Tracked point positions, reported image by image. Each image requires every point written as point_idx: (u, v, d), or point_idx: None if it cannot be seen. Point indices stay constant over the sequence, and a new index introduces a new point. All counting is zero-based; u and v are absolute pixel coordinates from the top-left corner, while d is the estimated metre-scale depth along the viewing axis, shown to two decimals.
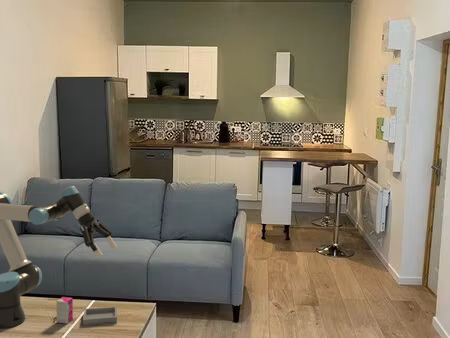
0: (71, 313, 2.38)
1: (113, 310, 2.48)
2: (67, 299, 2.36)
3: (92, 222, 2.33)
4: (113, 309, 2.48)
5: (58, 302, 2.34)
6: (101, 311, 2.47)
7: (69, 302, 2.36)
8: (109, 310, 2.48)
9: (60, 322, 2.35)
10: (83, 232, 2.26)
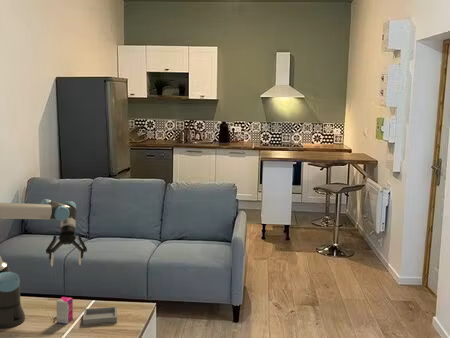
0: (71, 313, 2.38)
1: (113, 310, 2.48)
2: (67, 299, 2.36)
3: None
4: (113, 309, 2.48)
5: (58, 302, 2.34)
6: (101, 311, 2.47)
7: (69, 302, 2.36)
8: (109, 310, 2.48)
9: (60, 322, 2.35)
10: (81, 239, 2.54)
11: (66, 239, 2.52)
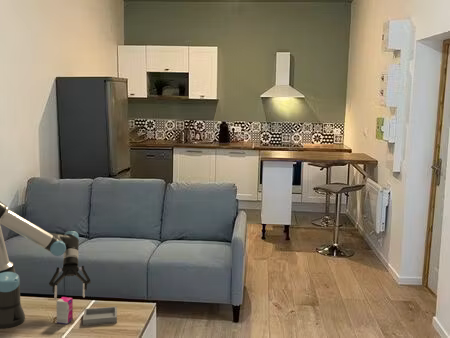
0: (71, 313, 2.38)
1: (113, 310, 2.48)
2: (67, 299, 2.36)
3: None
4: (113, 309, 2.48)
5: (58, 302, 2.34)
6: (101, 311, 2.47)
7: (69, 302, 2.36)
8: (109, 310, 2.48)
9: (60, 322, 2.35)
10: (85, 271, 2.52)
11: (69, 271, 2.50)
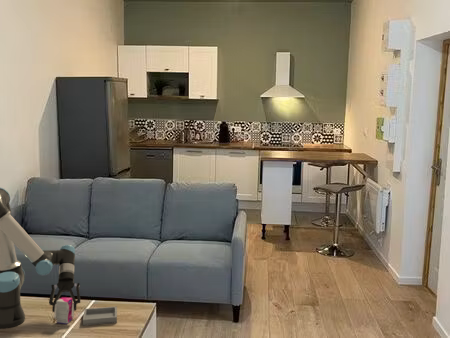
0: (71, 312, 2.38)
1: (113, 310, 2.48)
2: (67, 299, 2.36)
3: None
4: (113, 309, 2.48)
5: (58, 302, 2.34)
6: (101, 311, 2.47)
7: (69, 302, 2.36)
8: (109, 310, 2.48)
9: (60, 322, 2.35)
10: (78, 289, 2.44)
11: (64, 286, 2.42)
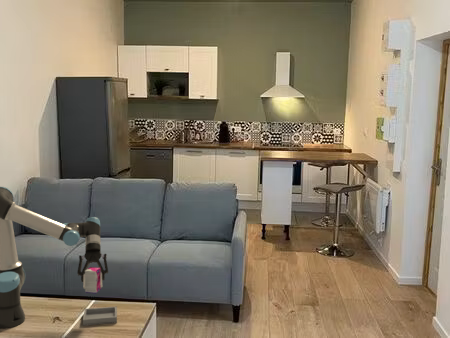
0: (99, 282, 2.39)
1: (113, 310, 2.48)
2: (95, 269, 2.38)
3: None
4: (113, 309, 2.48)
5: (86, 272, 2.35)
6: (101, 311, 2.47)
7: (97, 272, 2.37)
8: (109, 310, 2.48)
9: (89, 292, 2.36)
10: None
11: (92, 257, 2.43)
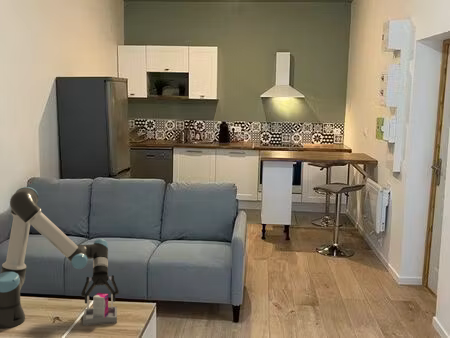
0: (107, 308, 2.42)
1: (113, 310, 2.48)
2: (103, 295, 2.40)
3: None
4: (113, 309, 2.48)
5: (95, 298, 2.38)
6: None
7: (105, 298, 2.39)
8: (109, 310, 2.48)
9: (97, 317, 2.39)
10: (114, 281, 2.47)
11: (99, 280, 2.46)
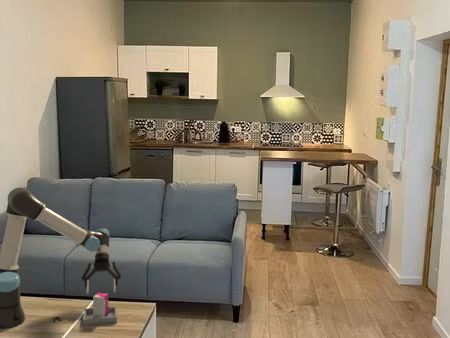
0: (107, 308, 2.42)
1: (113, 310, 2.48)
2: (103, 295, 2.40)
3: None
4: (113, 309, 2.48)
5: (95, 298, 2.38)
6: None
7: (105, 298, 2.39)
8: (109, 310, 2.48)
9: (97, 317, 2.39)
10: None
11: (101, 266, 2.58)
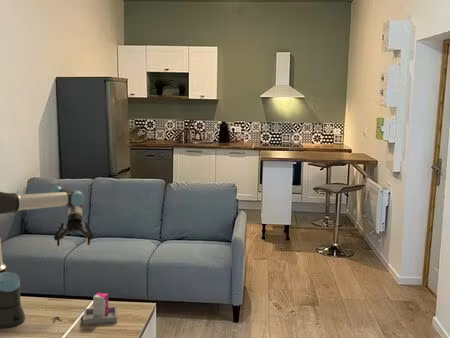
0: (107, 308, 2.42)
1: (113, 310, 2.48)
2: (103, 295, 2.40)
3: None
4: (113, 309, 2.48)
5: (95, 298, 2.38)
6: None
7: (105, 298, 2.39)
8: (109, 310, 2.48)
9: (97, 317, 2.39)
10: (88, 227, 2.64)
11: (73, 226, 2.62)
